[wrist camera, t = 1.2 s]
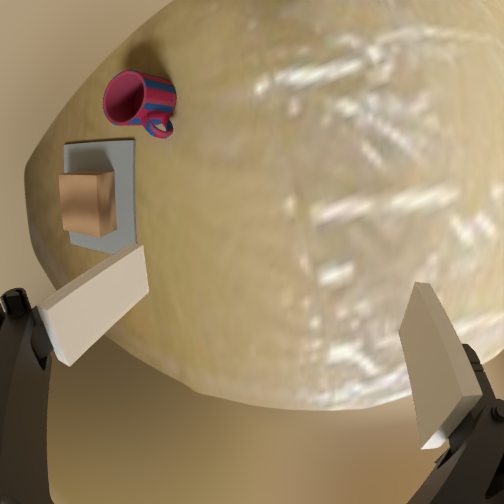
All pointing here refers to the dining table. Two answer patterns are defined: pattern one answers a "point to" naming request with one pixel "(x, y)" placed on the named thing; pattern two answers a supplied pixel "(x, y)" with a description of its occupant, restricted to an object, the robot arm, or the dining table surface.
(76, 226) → the base block
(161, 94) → the mug
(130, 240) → the mat
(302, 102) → the dining table surface
